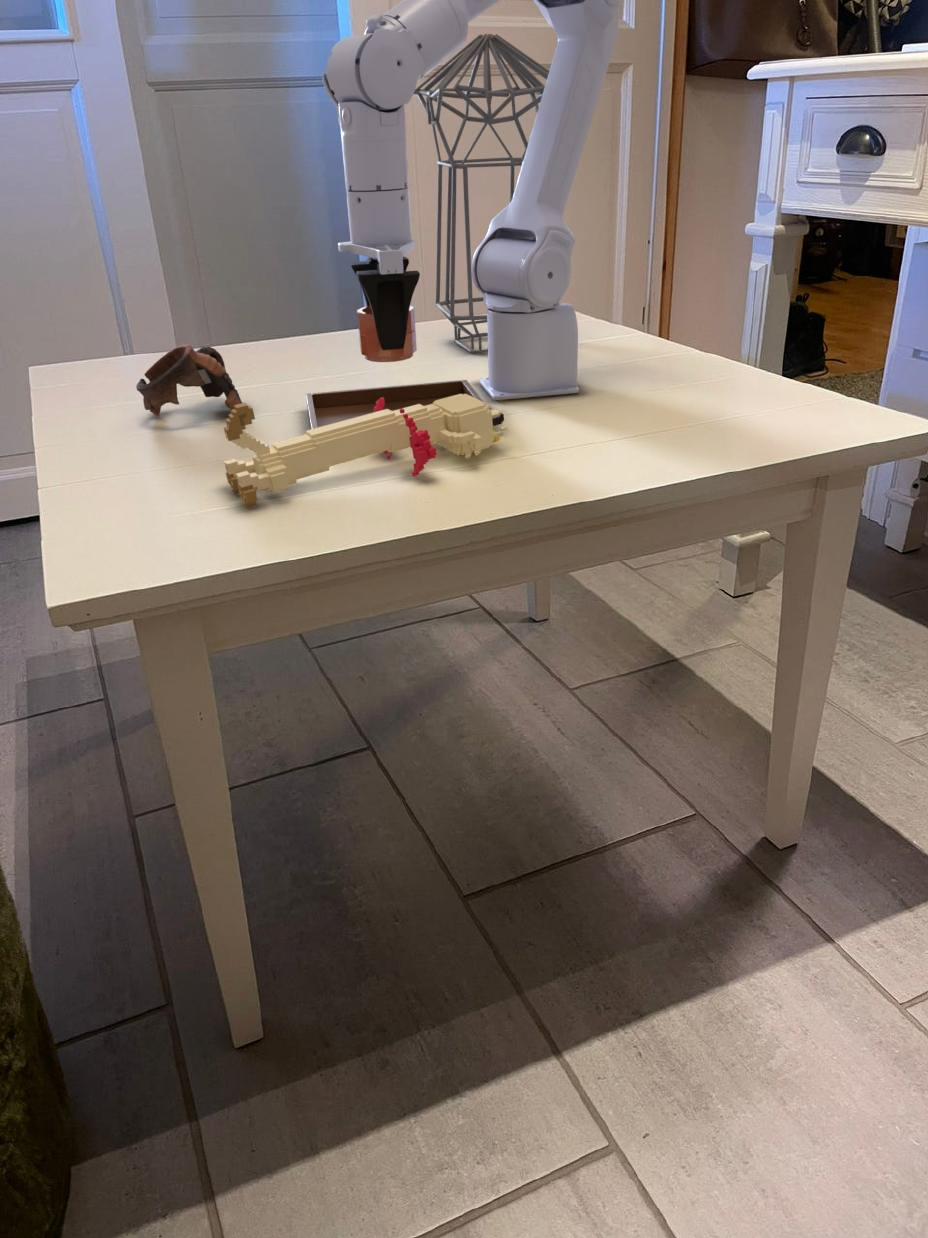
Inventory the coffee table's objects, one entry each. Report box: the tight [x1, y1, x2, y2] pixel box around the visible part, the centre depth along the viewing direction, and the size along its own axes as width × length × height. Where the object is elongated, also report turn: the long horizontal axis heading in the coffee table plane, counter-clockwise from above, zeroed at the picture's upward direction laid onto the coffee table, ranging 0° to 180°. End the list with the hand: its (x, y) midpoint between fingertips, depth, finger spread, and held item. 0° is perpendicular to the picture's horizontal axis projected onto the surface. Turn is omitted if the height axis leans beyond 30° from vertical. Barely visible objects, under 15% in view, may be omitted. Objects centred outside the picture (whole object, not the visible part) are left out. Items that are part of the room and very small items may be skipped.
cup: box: [356, 305, 418, 363], centre depth 91 cm, size 5×6×4 cm
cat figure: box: [223, 394, 509, 509], centre depth 80 cm, size 10×9×25 cm
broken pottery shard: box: [135, 343, 243, 417], centre depth 99 cm, size 12×10×8 cm
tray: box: [305, 379, 485, 430], centre depth 94 cm, size 17×13×2 cm
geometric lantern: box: [413, 33, 550, 354], centre depth 116 cm, size 16×16×35 cm
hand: (388, 341), depth 91 cm, fingers closed on cup, 5 cm apart
